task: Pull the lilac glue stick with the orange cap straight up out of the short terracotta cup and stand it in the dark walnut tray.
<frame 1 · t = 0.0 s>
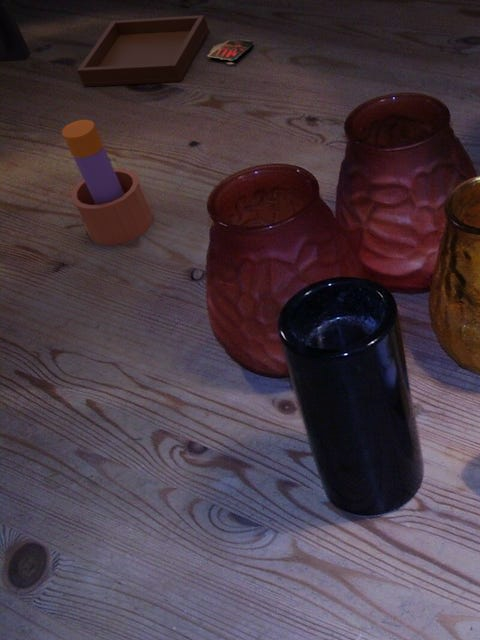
hand: (36, 25, 74), 21 cm above the table, tool pointing down, fingers open, 9 cm apart
cup: (123, 228, 90), on the table
glue stick: (121, 224, 90), resting on cup
matchbox: (230, 53, 112), on the table
tray: (148, 58, 113), on the table
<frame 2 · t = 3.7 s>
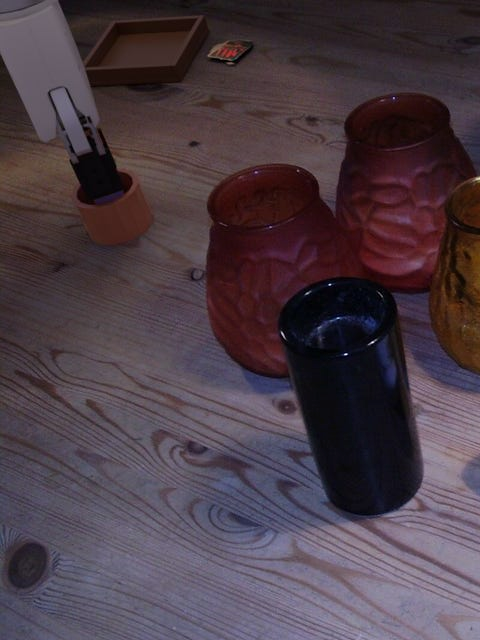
hand: (102, 182, 87), 5 cm above the table, tool pointing down, fingers closed on glue stick, 2 cm apart
glue stick: (121, 224, 90), point 1 cm above the table, touching cup, gripper
everything else where it was.
when the fingers open (5 cm above the table, at t = 12.1 s): glue stick stays where it is, resting on tray.
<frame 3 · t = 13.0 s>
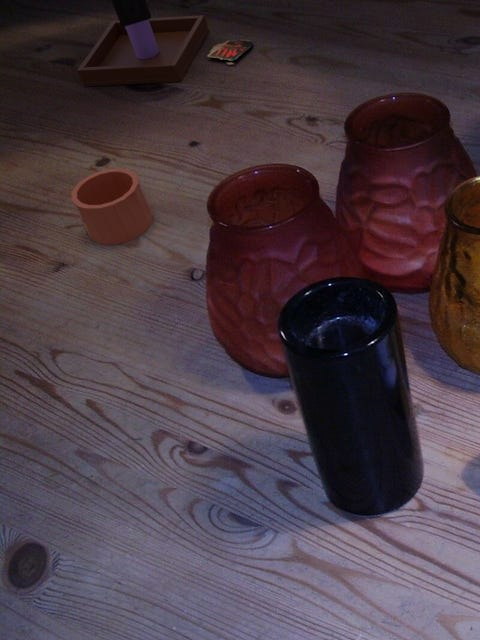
hand: (127, 4, 108), 6 cm above the table, tool pointing down, fingers open, 9 cm apart
glue stick: (148, 53, 112), resting on tray
everything else where it was.
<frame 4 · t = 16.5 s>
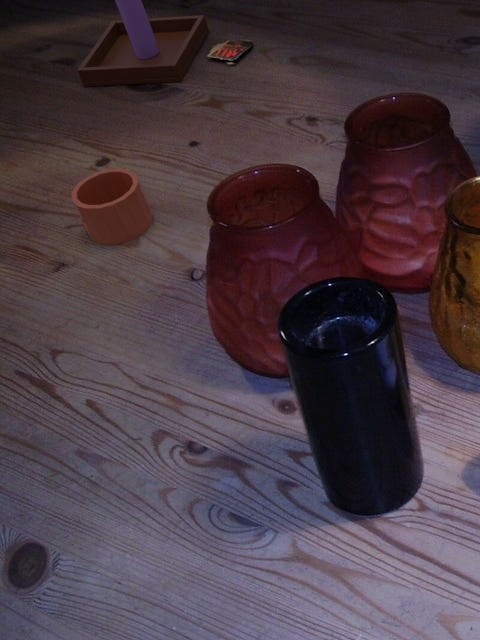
nothing on the table moved.
at the end: glue stick inside the target area in the tray (0.1 cm from its centre), point 0.5 cm above the tray's base; the gripper is holding nothing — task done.
